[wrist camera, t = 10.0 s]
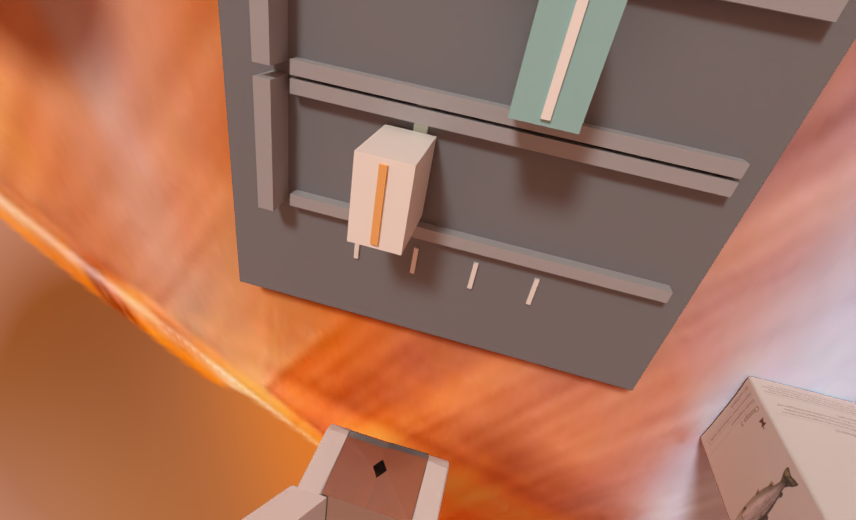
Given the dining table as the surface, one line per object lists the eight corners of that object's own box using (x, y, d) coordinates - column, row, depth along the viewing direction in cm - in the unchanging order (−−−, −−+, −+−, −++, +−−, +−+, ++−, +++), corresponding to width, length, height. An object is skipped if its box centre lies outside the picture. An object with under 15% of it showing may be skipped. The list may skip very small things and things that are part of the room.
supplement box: (746, 371, 31) (857, 570, 20) (858, 401, 30) (1033, 622, 19) (695, 436, 35) (764, 630, 24) (792, 463, 34) (908, 675, 23)
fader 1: (436, 136, 24) (415, 166, 20) (422, 215, 27) (400, 256, 23) (385, 124, 25) (353, 151, 20) (375, 203, 27) (345, 242, 23)
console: (848, 3, 20) (911, 5, 16) (627, 370, 33) (637, 412, 29) (233, -117, 22) (179, -136, 19) (254, 267, 35) (224, 296, 32)
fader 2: (609, -6, 20) (630, -6, 15) (570, 108, 22) (579, 135, 18) (543, -19, 20) (545, -23, 15) (513, 95, 22) (507, 118, 18)
